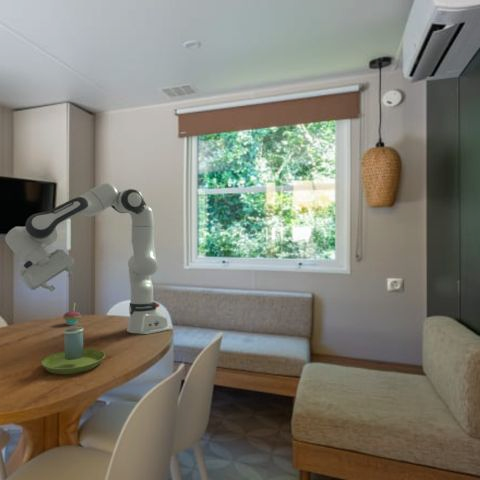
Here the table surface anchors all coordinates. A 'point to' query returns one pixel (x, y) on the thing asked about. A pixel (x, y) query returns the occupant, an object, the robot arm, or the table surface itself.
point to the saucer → (73, 362)
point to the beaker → (73, 343)
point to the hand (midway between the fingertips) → (63, 283)
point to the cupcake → (72, 317)
